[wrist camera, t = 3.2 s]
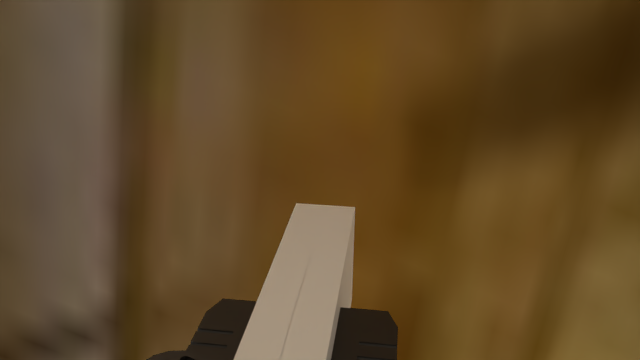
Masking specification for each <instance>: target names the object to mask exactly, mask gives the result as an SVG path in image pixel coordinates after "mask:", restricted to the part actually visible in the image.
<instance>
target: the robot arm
mask: <svg viewBox="0 0 640 360" xmlns="http://www.w3.org/2000/svg"><path fill="white" fill-rule="evenodd" d="M354 226H355V207H345V206H331V205H316V204H301V203H296V205H295V207H294V210H293V212H292V215H291V217H290V220H289V222H288V225H287V227H286V230H285V232H284V235H283V237H282V240H281V242H280V245H279V247H278V250H277V252H276V255H275V257H274V260H273V262H272V265H271V267H270V270H269V272H268V275H267V277H266V280H265V282H264V285H263V287H262V290H261V292H260V295H259V297H258V300H257V302H255V301H244V300H232V299H222V300H221V301H219V302H218V303H217V304H216V305H214V306H213V307H212V308H211V309H209V310H208V311H207V312H206V313H205V315H204V317H203V319H202V321H201V323H200V325H199V327H198V331H196V333H195V335H194V337H193V339H192V340H191V345H189V346H188V348H187V350H186V351H168V352H164V353H160V354H157V355H153V356H152V357H150V358H148V359H146V360H397V332H398V327H397V326H396V324H395V322H394V321H393V319H392V317H391V315H390V314H389V312H388V311H378V310H367V309H355V308H351V302H352V283H353V254H354Z"/></svg>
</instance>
